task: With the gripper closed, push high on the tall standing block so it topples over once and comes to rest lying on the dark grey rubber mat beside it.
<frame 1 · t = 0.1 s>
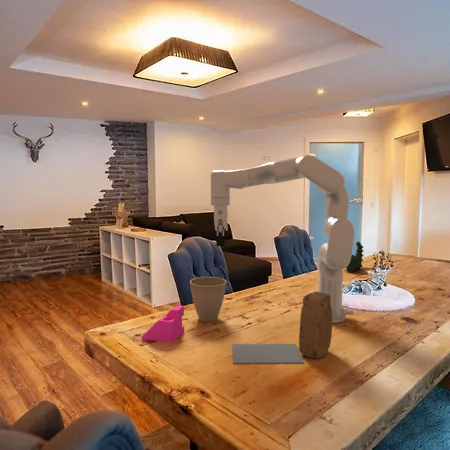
hand: (220, 244, 157), 31 cm above the table, tool pointing down, fingers open, 9 cm apart
bracket: (163, 336, 143), on the table
plant pot: (208, 319, 160), on the table
block: (314, 353, 127), on the table, touching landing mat
toy figurine: (353, 270, 247), on the table
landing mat: (266, 353, 127), on the table
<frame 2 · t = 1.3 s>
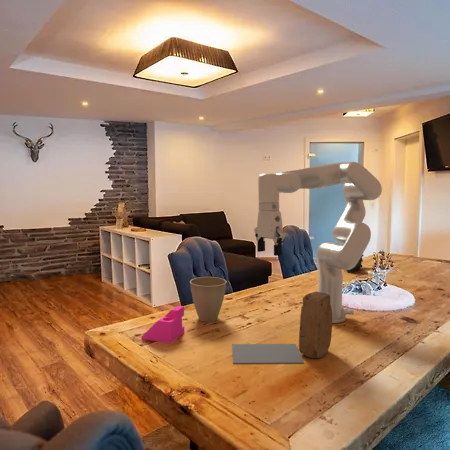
hand: (269, 253, 145), 30 cm above the table, tool pointing down, fingers open, 9 cm apart
nothing on the table moved.
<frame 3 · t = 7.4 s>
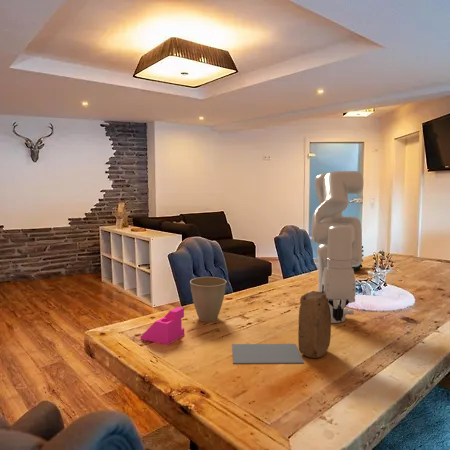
hand: (337, 319, 126), 12 cm above the table, tool pointing down, fingers closed
block: (314, 352, 127), on the table, touching gripper, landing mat
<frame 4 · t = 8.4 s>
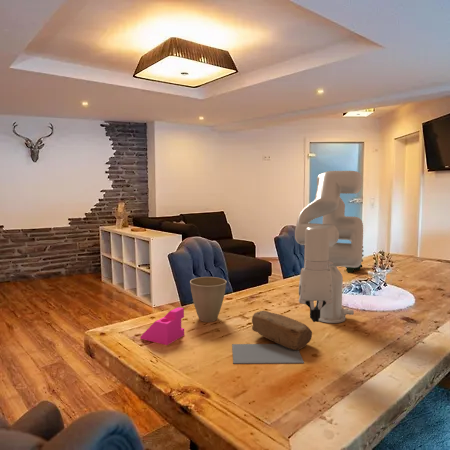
hand: (314, 320, 126), 11 cm above the table, tool pointing down, fingers closed
block: (305, 339, 130), point 4 cm above the table, touching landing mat
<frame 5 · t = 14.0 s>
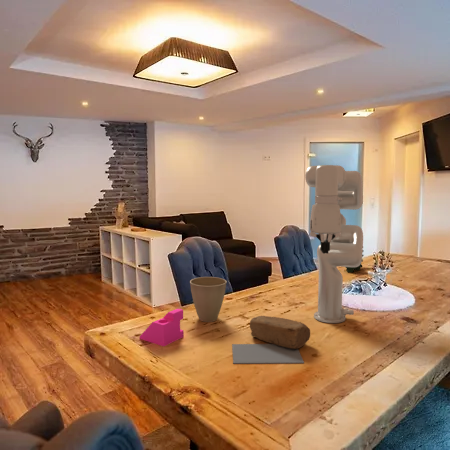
hand: (324, 252, 137), 31 cm above the table, tool pointing down, fingers closed
block: (304, 336, 130), point 4 cm above the table, touching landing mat
at the end: block tilted 93°; block touching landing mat, table; block inside the target area (6.8 cm from its centre), point 4.4 cm above the table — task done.
